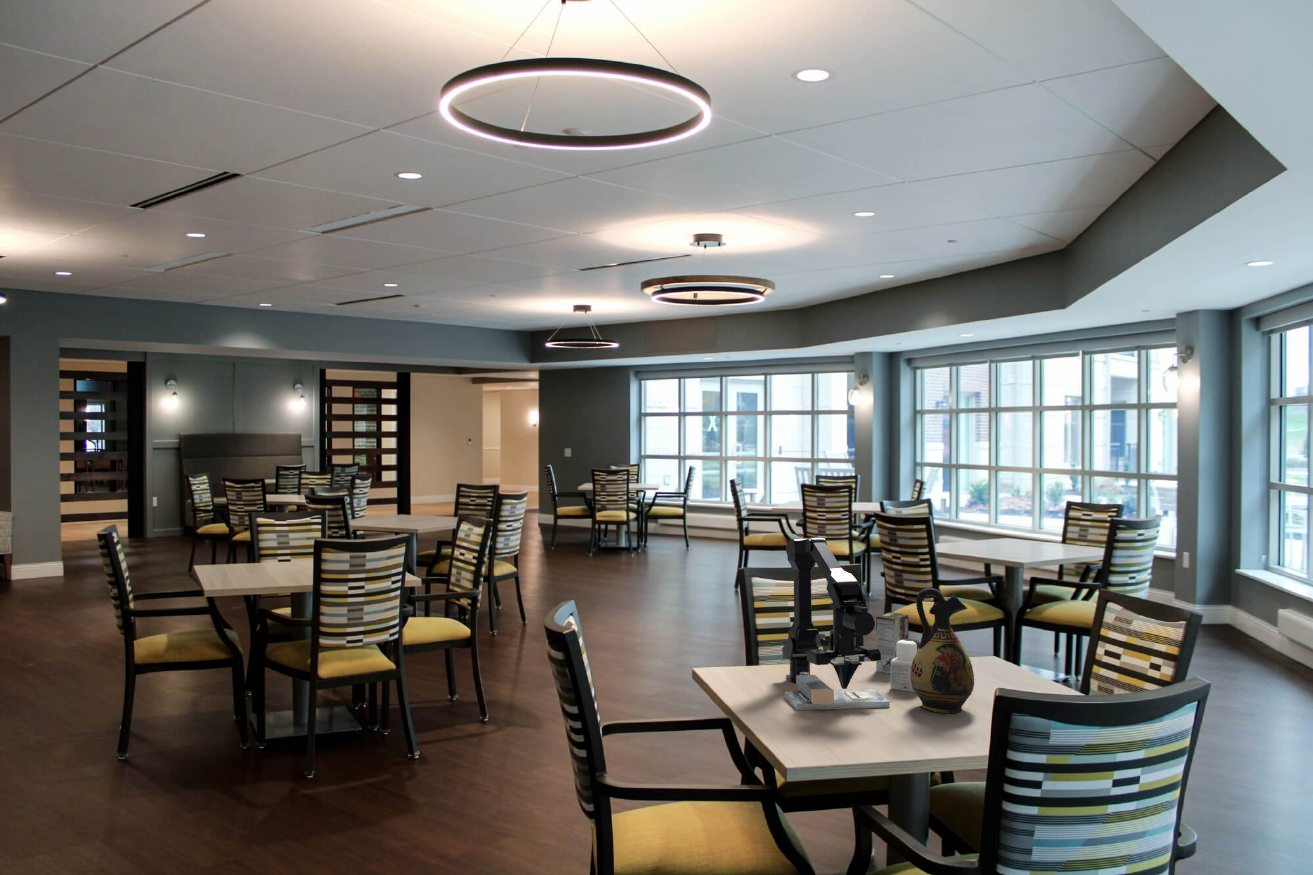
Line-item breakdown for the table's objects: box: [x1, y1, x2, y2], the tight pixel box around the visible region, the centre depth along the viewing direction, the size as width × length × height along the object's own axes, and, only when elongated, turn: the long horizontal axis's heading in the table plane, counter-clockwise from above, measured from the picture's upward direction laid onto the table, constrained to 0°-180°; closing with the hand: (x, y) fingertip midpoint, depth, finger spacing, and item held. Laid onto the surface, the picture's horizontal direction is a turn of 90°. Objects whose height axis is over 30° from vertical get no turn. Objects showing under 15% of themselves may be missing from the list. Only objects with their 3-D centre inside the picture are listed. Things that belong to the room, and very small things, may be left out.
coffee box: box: [875, 611, 909, 675], centre depth 281 cm, size 9×6×16 cm
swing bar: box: [795, 672, 835, 704], centre depth 246 cm, size 19×5×5 cm, turn 7°
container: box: [890, 638, 921, 693], centre depth 261 cm, size 8×8×13 cm
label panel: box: [784, 688, 891, 711], centre depth 246 cm, size 12×24×2 cm, turn 97°
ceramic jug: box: [910, 587, 975, 715], centre depth 241 cm, size 17×15×30 cm
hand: (844, 688), depth 246 cm, fingers closed
